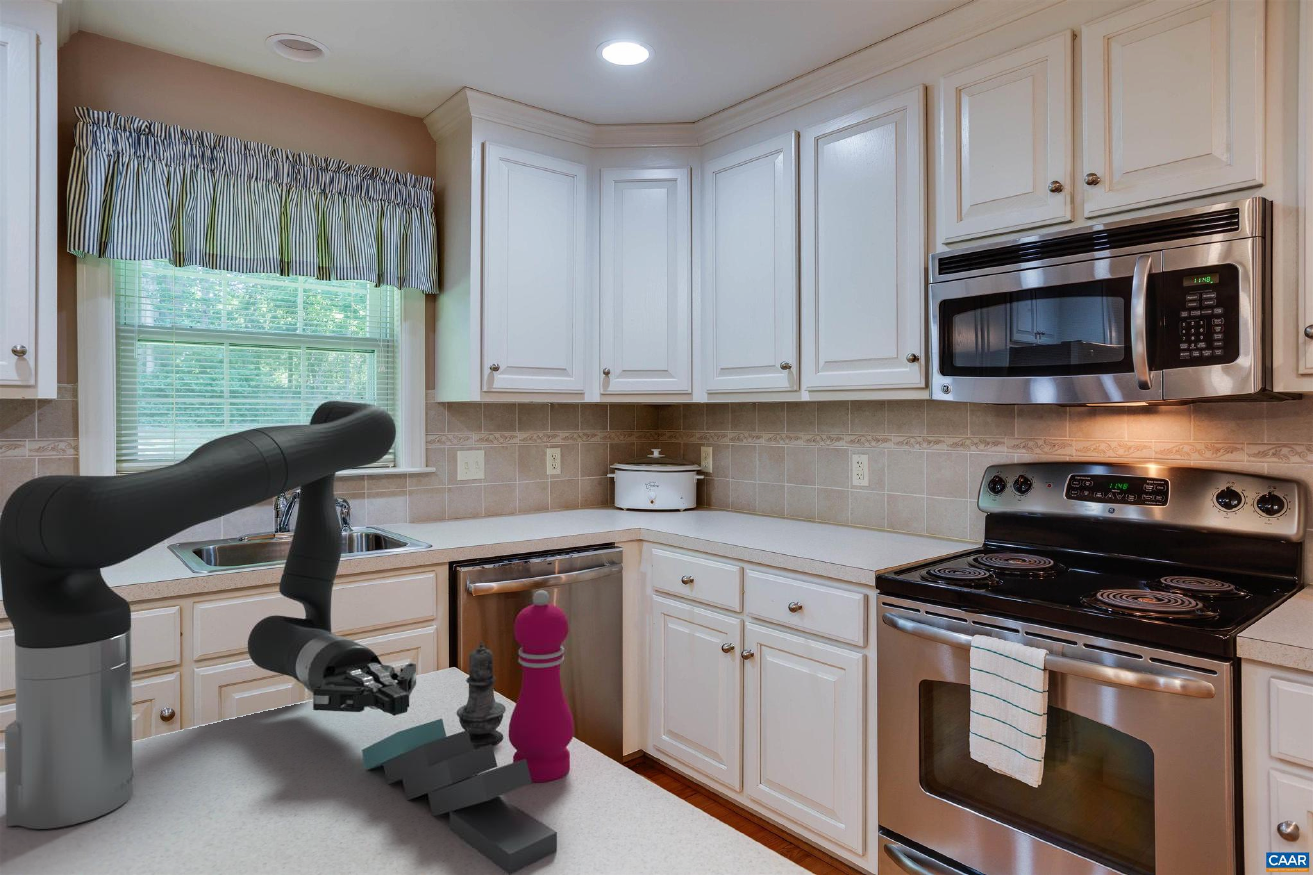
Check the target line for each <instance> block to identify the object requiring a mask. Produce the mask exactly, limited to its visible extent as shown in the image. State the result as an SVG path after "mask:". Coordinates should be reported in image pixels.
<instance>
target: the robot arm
mask: <svg viewBox="0 0 1313 875" xmlns="http://www.w3.org/2000/svg"><path fill="white" fill-rule="evenodd" d="M396 436H397V428H396V424H395V421H394V419H393V417H392V416H391V414H390V413H389V412H388V411H387V410H386V409H384V408H383V407H380V406H377V405H376V404H372V403H366V402H364V403H363V402H362V403H361V402H351V401H345V400H344V401H342V400H328V401H326V402H323V403H322V404H320V405H318V407H317V408H316V409H315V411H314V412H313V414H312V416H311V418H310V421H309V424H290V425H288V424H287V425H273V426H271V425H270V426H263V427H256V428H255V427H254V428H251V429H245V430H241V431H238V432H235V433H232V434H228V435H227V434H226V435H223V436H220V437H218V438H215V439H212V440H209V441H208V442H205V443H203V444H202V445H200V446H198V447H197V448H196V449H195V450H193V451H192V452H191V453H190V454H189V455H187V457H186V458H184V459H182V460H180V461H178V462H176V463H174V464H172V465H168V466H164V467H160V468H155V469H151V470H145V471H139V472H134V473H128V474H120V475H74V474H73V475H72V474H71V475H69V474H68V475H67V474H66V475H65V474H62V475H61V474H55V475H52V474H51V475H43V476H39V477H34V478H32V479H30V480H27V481H26V482H24V483H23V484H21V485H19V486H18V487H17V488H16V489H15V490H14V491H13V492H12V493H11V495H9V497H8V499H6V500H7V501H6V502H5V504H4V506H3V509H2V511H1V515H0V582H1V595H2V596H1V597H2V604H3V608H4V613H5V614H6V616H7V619H8V620H9V622H10V623H11V625H12V627H13V631H14V632H13V633H14V672H15V673H14V674H15V678H14V679H15V680H14V682H15V720H14V721H12V722H11V723H9V724H8V725H7V726H6V727H5V730H4V765H5V766H4V773H5V774H4V775H5V777H4V778H5V779H4V781H5V785H4V786H5V826H6V827H12V826H14V827H15V826H20V827H23V828H25V829H26V828H28V829H33V830H34V829H35V830H42V829H43V830H47V829H48V830H49V829H54V828H63V827H67V826H73V825H76V824H79V823H85V822H87V821H90V820H93V819H96V818H99V817H101V816H104V815H106V814H108V813H110V812H112V811H114V810H116V809H118V808H120V807H121V806H122V805H124V804H125V803H126V802H127V801H128V800H130V799H131V797H132V796H133V778H134V769H133V766H134V765H133V680H132V679H133V672H132V670H133V668H132V661H133V660H132V659H133V658H132V611H131V610H132V609H131V606H130V605H131V604H130V603H129V602H128V601H127V599H125V598H124V597H122V596H121V595H120V594H118V593H117V592H115V591H114V590H113V589H112V588H111V587H110V586H109V585H108V583H107V582H106V581H105V579H104V577H103V575H102V571H101V569H104V568H108V567H109V568H110V567H112V566H115V565H118V564H121V563H123V562H125V561H127V560H129V559H132V558H133V557H135V556H137V555H139V554H141V553H144V552H145V551H147V550H149V549H151V548H153V547H154V546H156V545H158V544H160V543H162V542H163V541H166V540H168V539H170V538H172V537H174V536H176V535H177V534H180V533H181V532H184V531H186V530H188V529H189V528H190V529H191V528H192V527H195V526H197V525H200V524H203V523H206V522H208V521H213V520H216V519H219V518H222V517H224V516H226V515H227V516H228V515H230V514H232V513H235V512H237V511H241V510H243V509H246V508H249V507H250V508H251V507H253V506H255V505H258V504H260V503H263V502H265V501H268V500H271V499H273V498H275V497H278V496H280V495H282V494H284V493H286V492H289V491H292V490H294V489H297V488H300V489H299V498H298V508H297V514H296V515H297V516H296V522H295V525H294V531H293V536H292V540H291V544H290V547H289V550H288V552H287V557H286V561H285V564H284V568H283V571H282V574H281V578H280V580H279V581H280V583H279V586H278V591H279V593H280V594H281V595H282V596H283V597H285V598H287V599H290V600H293V601H296V602H298V603H300V604H301V605H302V606H303V608H304V612H305V617H304V618H301V617H294V616H286V615H278V614H277V615H269V616H266V617H264V618H262V619H261V620H259V621H258V622H257V623H255V625H254V626H253V627H252V629H251V631H250V632H249V635H248V640H247V653H248V656H249V658H250V659H251V661H252V662H253V663H254V664H255V665H256V666H257V667H258V668H260V669H263V670H266V671H269V672H273V673H275V674H280V675H285V676H288V677H292V678H293V679H295V680H296V681H297V682H298V683H300V684H302V685H303V686H304V687H305V689H306V690H308V691H309V692H310V693H312V710H313V711H322V712H323V711H327V712H342V713H343V712H345V713H361V712H363V711H365V709H366V708H370V709H371V710H381V711H382V712H383V713H385V714H387V713H388V714H390V715H392V716H393V717H394V716H398V715H401V714H406V713H408V709H409V708H410V696H411V694H412V693H413V691H414V689H415V688H416V685H417V664H416V663H411V662H410V663H408V664H406V665H405V666H404V667H400V670H395V668H394V667H393V666H392V665H388V664H383V663H382V661H381V660H380V658H379V657H378V655H377V654H376V653H375V652H374V651H373V650H372V649H370V648H368V647H367V646H364V645H363V644H360V643H358V642H356V641H354V640H351V639H350V638H348V637H346V636H345V637H344V636H343V635H342V636H341V635H336V634H335V633H332V594H333V588H334V583H335V580H336V575H337V572H338V568H339V565H340V561H341V557H342V552H343V532H342V527H341V523H340V518H339V514H338V511H337V506H336V501H335V492H334V488H335V487H334V486H335V477H336V474H337V473H339V472H342V471H346V470H351V469H355V468H359V467H364V466H365V467H366V466H368V465H371V464H374V463H377V462H379V461H380V460H382V459H383V458H384V457H386V455H387V454H388V453H389V452H390V450H391V449H392V447H393V445H394V443H395V439H396Z"/></svg>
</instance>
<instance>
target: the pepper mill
mask: <svg viewBox="0 0 1313 875" xmlns="http://www.w3.org/2000/svg"><path fill="white" fill-rule="evenodd" d="M532 598H533V599H532V601H533V603H534V604H531V605H528V606H527V607H524V608H523V609H521V611H519V613H518V615H516V618H515V621H514V624H513V636H514V638H515V641H516V642H518V644H519V645H520V648H519V649H518V651H517V652H518V655H519V658H518V663H519V664H520V665H522V666H521V667H522V681H521V687H520V688H521V689H520V692H519V695H518V698H517V701H516V702H515V703H516V704H515V706H514V708H513V710H512V713H511V716H510V721H509V725H508V741H509V742H510V744H511V746H512V747H513V748H514V749H515V750H516V751H515V752H514V754H513V756H512V763H514V762H517V761H520V760H523V759H526V761H527V765H528V769H529V773H530V777H531V781H532V783H544V782H545V783H546V782H547V783H548V782H550V781H555V780H558V779H560V778H561V777H564V776H565V775H566V774H567V773H568V772H569V770H570V767H571V766H570V765H571V752H570V751H569V749H568V748H567V747H568V746H569V745H570V743H571V742H572V740H573V738H574V736H575V725H574V724H575V723H574V718H573V715H572V714H573V713H572V710H571V708H570V706H569V704H568V702H567V700H566V697H565V693H564V692H563V687H562V682H561V664H562V663H563V662H564V660H565V657H564V652H565V647H564V646H562V644H563V643H564V641H565V640H566V639H567V637H568V635H569V630H570V629H569V621H568V617H567V616H566V613H565V611H564V610H562V609H561V608H560V607H558V606H556V605H554V604H552V603H549V602H550V596H549V593H548V592H547V591H546V590H538V591H536V592H534V594H533V597H532Z"/></svg>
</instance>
